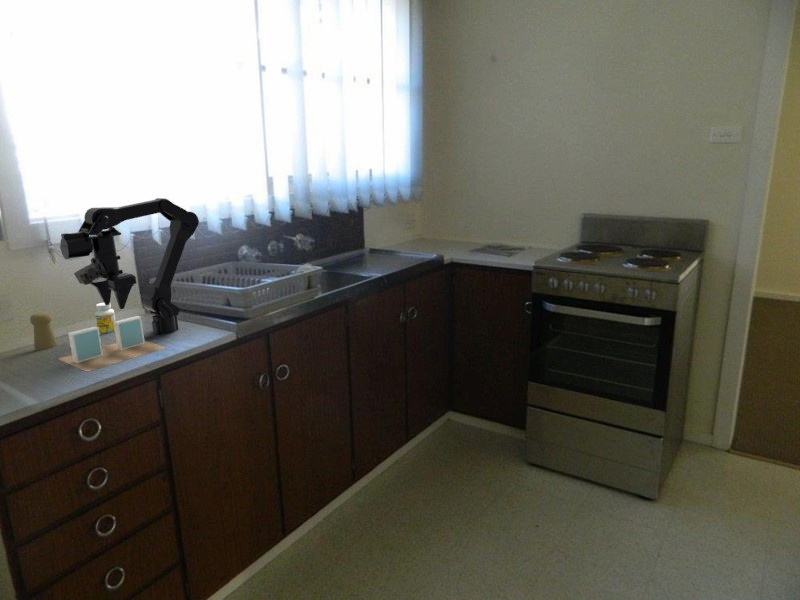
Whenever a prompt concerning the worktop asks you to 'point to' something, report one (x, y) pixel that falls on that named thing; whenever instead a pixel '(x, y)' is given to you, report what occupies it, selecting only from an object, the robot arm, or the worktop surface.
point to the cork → (43, 331)
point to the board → (113, 356)
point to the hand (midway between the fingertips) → (114, 306)
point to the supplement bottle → (105, 318)
